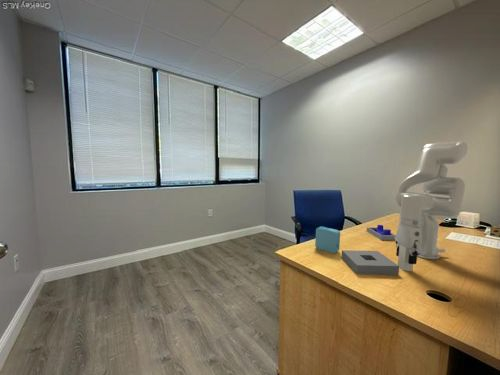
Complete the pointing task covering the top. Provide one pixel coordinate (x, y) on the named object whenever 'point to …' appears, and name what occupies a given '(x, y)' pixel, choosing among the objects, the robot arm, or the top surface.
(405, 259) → the plug
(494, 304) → the top surface
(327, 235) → the data package
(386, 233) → the cable clip
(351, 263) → the socket plate
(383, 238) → the desk tray
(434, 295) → the top surface
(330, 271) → the top surface
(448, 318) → the top surface
